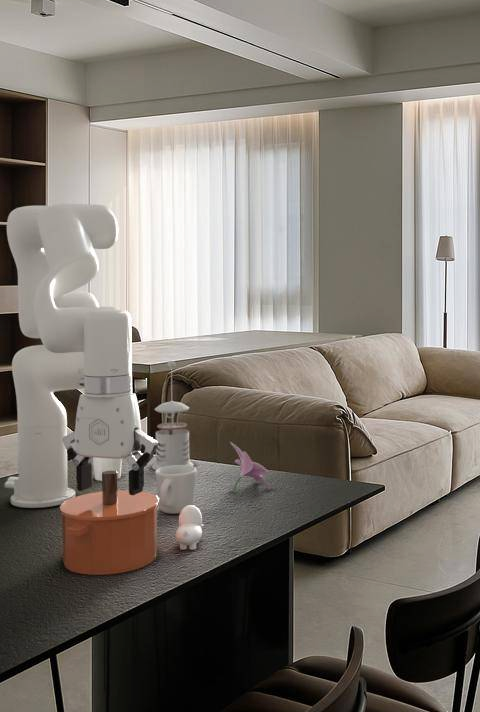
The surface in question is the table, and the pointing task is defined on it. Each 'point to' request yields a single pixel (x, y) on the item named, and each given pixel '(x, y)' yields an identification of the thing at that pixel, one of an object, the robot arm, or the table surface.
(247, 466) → the lily
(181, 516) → the toy creature
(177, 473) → the cup
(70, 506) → the lid
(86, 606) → the table surface
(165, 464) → the white hanging lantern
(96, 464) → the white short tapered cylinder
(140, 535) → the pot
